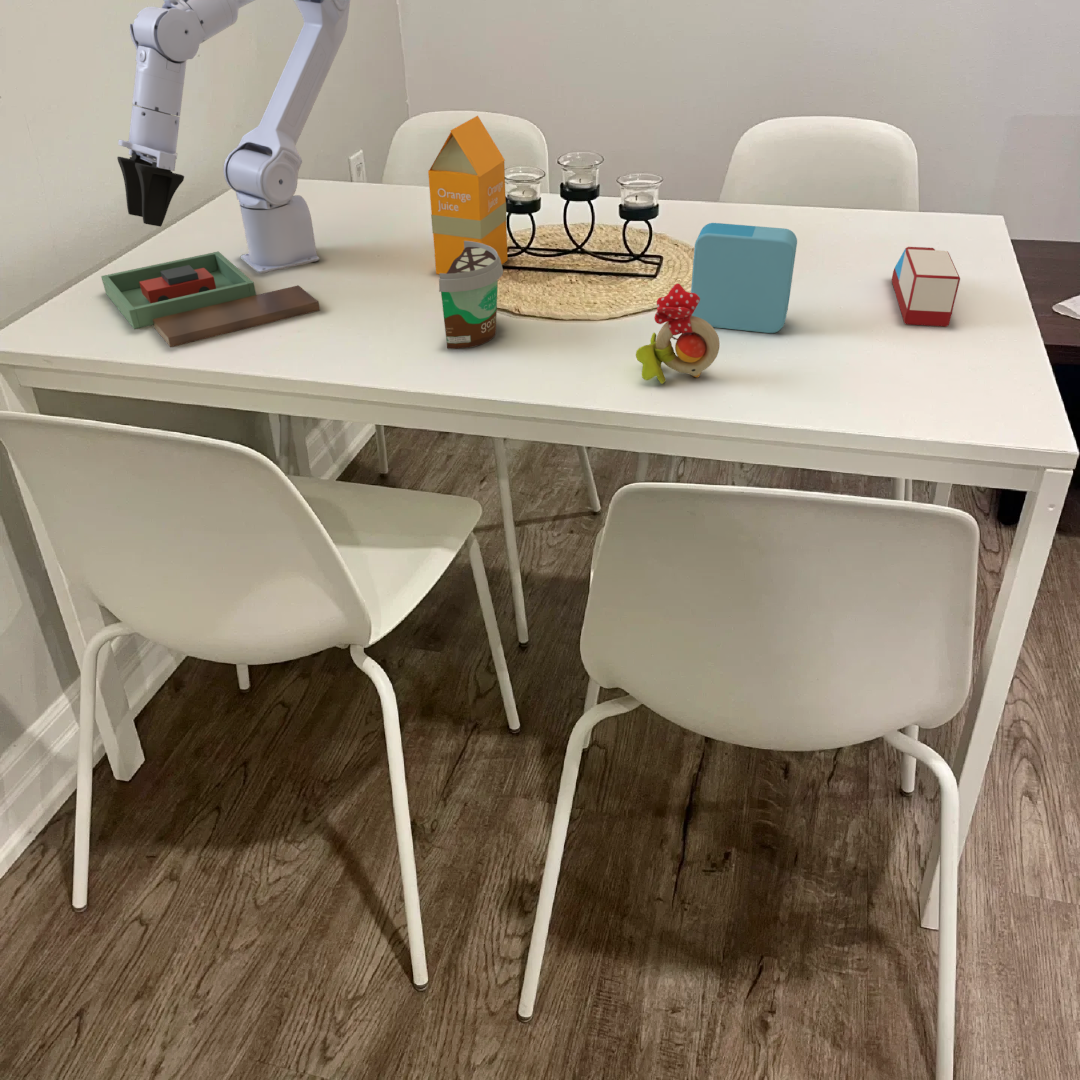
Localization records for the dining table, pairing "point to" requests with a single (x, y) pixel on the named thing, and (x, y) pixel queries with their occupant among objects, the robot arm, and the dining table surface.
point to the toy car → (177, 283)
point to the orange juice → (467, 194)
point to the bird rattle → (692, 345)
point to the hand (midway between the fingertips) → (144, 220)
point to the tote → (142, 312)
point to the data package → (743, 276)
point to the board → (235, 315)
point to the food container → (471, 296)
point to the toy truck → (925, 286)
